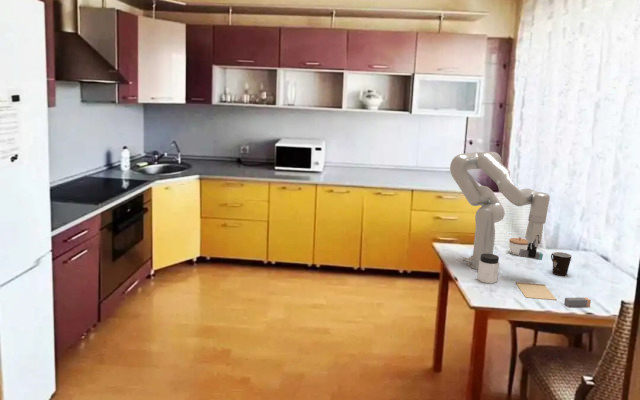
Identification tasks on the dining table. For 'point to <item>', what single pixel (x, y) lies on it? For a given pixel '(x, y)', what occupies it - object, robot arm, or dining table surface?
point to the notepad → (535, 291)
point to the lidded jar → (517, 245)
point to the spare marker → (577, 302)
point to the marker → (525, 253)
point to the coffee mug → (560, 263)
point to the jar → (488, 268)
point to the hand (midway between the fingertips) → (530, 255)
